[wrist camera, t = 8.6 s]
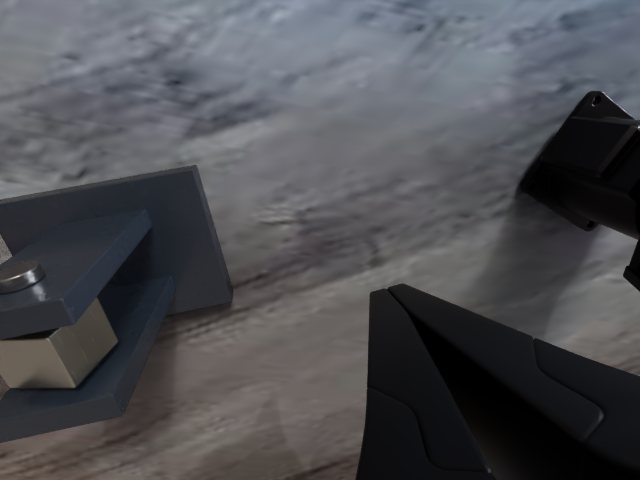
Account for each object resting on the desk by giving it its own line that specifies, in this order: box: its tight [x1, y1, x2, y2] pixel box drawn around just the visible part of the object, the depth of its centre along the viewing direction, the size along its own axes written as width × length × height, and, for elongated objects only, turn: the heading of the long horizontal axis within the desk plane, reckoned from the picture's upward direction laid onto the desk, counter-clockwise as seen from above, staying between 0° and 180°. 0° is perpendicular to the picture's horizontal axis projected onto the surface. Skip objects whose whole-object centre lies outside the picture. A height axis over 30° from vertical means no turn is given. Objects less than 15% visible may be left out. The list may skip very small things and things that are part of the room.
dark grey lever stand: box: [0, 165, 233, 443], centre depth 16 cm, size 10×8×10 cm
